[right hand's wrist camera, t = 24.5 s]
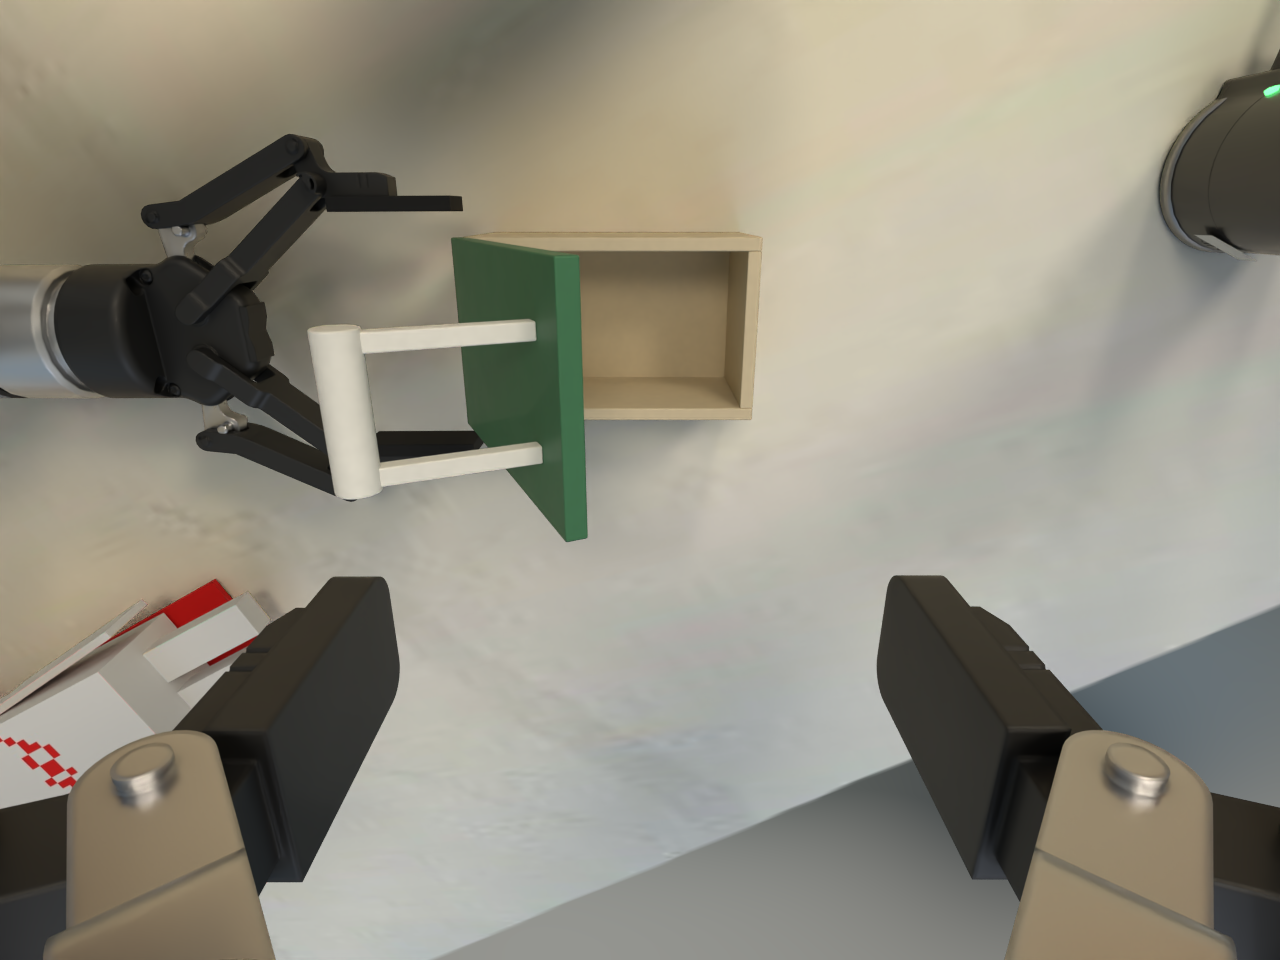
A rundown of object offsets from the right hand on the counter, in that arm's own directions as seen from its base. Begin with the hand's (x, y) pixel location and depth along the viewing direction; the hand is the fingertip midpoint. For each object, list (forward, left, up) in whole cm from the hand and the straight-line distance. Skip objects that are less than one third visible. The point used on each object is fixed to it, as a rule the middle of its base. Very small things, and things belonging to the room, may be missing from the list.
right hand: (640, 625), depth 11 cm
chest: (0, -1, -38) cm, 38 cm away
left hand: (+2, -10, -31) cm, 32 cm away
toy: (+35, -35, -38) cm, 62 cm away
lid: (+1, -5, -21) cm, 22 cm away
